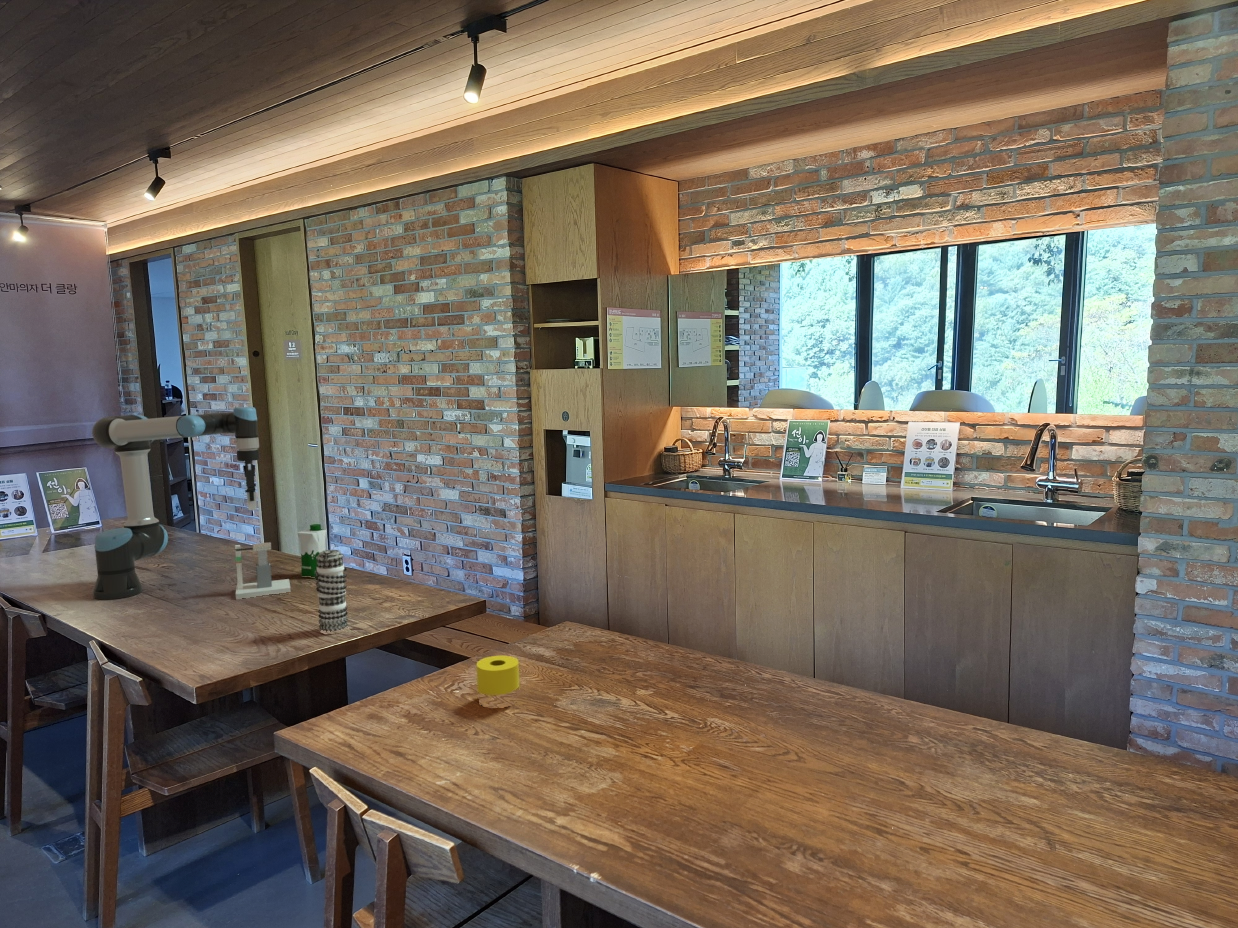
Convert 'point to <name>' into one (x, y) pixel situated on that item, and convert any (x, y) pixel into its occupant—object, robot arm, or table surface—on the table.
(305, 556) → the milk carton
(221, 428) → the robot arm
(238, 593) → the stand
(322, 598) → the decorative candle
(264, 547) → the square paddle
